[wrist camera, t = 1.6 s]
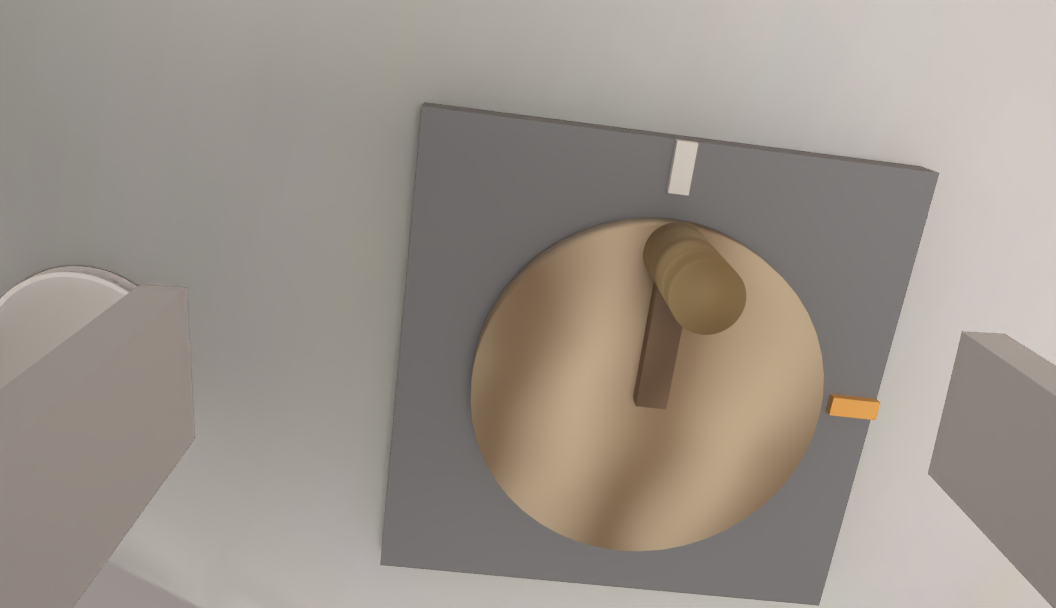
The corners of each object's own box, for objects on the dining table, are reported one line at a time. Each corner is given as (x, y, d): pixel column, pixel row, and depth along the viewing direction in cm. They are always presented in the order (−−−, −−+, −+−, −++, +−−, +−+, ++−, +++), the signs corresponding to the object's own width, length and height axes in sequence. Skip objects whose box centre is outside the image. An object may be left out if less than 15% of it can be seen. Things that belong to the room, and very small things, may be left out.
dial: (454, 515, 38) (445, 622, 31) (493, 191, 33) (491, 236, 27) (770, 545, 39) (826, 656, 32) (848, 235, 34) (932, 288, 28)
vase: (137, 461, 38) (18, 608, 29) (-31, 381, 37) (-214, 508, 27) (210, 321, 36) (108, 430, 27) (36, 231, 35) (-137, 312, 25)
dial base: (384, 545, 40) (379, 570, 38) (425, 102, 34) (420, 107, 32) (807, 585, 41) (821, 611, 40) (921, 166, 35) (944, 174, 33)
